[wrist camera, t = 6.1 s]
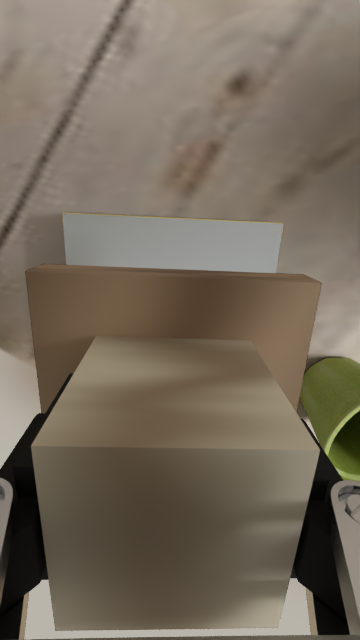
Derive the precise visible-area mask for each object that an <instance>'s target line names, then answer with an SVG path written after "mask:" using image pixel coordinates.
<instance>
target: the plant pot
mask: <svg viewBox="0 0 360 640" xmlns="http://www.w3.org/2000/svg"><path fill="white" fill-rule="evenodd" d="M300 399H301V402H302V404H303V406H304V409H305V411H306V413H307V415H308V417H309V420H310V422H311V424H312V427H313V429H314V431H315V434H316V436H317V439H318V441H319V443H320V445H321V447H322V448H323V450H324V451H325V453H326V454H327V456H328V458H329V459H330V461H331V462H332V464H333V465H334V467H335V468H336V470H337V471H338V473H339V474H340V476H341V478H342V479H343V481H345V480H351V481H358V482H360V364H359V363H357V362H355V361H354V360H351V359H349V358H345V357H344V358H326V359H323V360H321V361H319V362H317V363H315V364H314V365H313V366H311V367H310V368H309V369H308V370H307V372H306V373H305V374H304V376H303V382H302V387H301V392H300Z"/></svg>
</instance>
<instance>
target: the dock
mask: <svg viewBox="0 0 360 640" xmlns="http://www.w3.org/2000/svg"><path fill="white" fill-rule="evenodd" d="M62 223H63V229H64V243H65V257H66V265H85V266H109V267H134V268H159V269H183V270H208V271H233V272H258V273H276V270H277V263H278V256H279V250H280V243H281V236H282V232H283V226H284V223H279V222H258V221H237V220H217V219H196V218H175V217H154V216H134V215H113V214H92V213H72V212H62Z"/></svg>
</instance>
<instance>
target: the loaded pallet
mask: <svg viewBox="0 0 360 640" xmlns="http://www.w3.org/2000/svg"><path fill="white" fill-rule="evenodd" d="M25 273H26V282H27V291H28V299H29V308H30V317H31V326H32V334H33V343H34V352H35V361H36V369H37V378H38V387H39V396H40V404H41V413H46V411H47V410H48V408H49V406H50V405H51V403H52V402H53V400H54V398H55V397H56V395H57V393H58V392H59V390H60V389H61V387H62V385H63V384H64V382H65V380H66V379H67V377H68V376H69V374H70V373H74V374H73V376H72V377H71V379H70V381H69V383H68V384H67V386H66V388H65V389H64V391H63V393H62V394H61V396H60V398H59V399H58V401H57V403H56V405H55V406H54V408H53V410H52V411H51V413H50V415H49V416H48V418H47V420H46V421H45V423H44V425H43V426H42V428H41V430H40V432H39V433H38V435H37V437H36V438H35V440H34V442H33V443H32V445H31V450H32V458H33V466H34V473H35V481H36V488H37V496H38V503H39V511H40V518H41V526H42V534H43V541H44V549H45V556H46V564H47V571H48V579H49V586H50V594H51V601H52V609H53V617H54V624H55V631H66V630H67V631H69V630H71V631H72V630H148V629H222V628H223V629H224V628H225V629H226V628H278V627H279V622H280V619H281V614H282V610H283V606H284V602H285V597H286V593H287V589H288V585H289V580H290V576H291V572H292V568H293V563H294V559H295V555H296V551H297V546H298V542H299V538H300V534H301V529H302V525H303V521H304V517H305V512H306V508H307V504H308V500H309V495H310V491H311V487H312V483H313V478H314V474H315V470H316V466H317V461H318V457H319V453H320V449H319V447H318V446H317V444H316V443H315V441H314V440H313V438H312V436H311V435H310V433H309V432H308V430H307V429H306V427H305V425H304V424H303V422H302V421H301V419H300V418H299V416H298V414H297V413H296V412H297V407H298V402H299V397H300V392H301V387H302V382H303V376H304V371H305V366H306V361H307V356H308V351H309V346H310V341H311V336H312V330H313V325H314V320H315V315H316V310H317V305H318V300H319V295H320V290H321V285H322V283H321V282H319V281H317V280H315V279H313V278H310V277H308V276H306V275H304V274H282V273H258V272H233V271H208V270H183V269H159V268H134V267H109V266H85V265H60V264H42V265H39V266H37V267H34V268H32V269H29V270H27V271H25Z"/></svg>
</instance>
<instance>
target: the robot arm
mask: <svg viewBox="0 0 360 640" xmlns="http://www.w3.org/2000/svg"><path fill="white" fill-rule="evenodd" d="M73 374H74V373H70V374H69V376H68V377H67V379H66V380H65V382H64V384H63V385H62V387H61V389H60V390H59V392H58V393H57V395H56V397H55V398H54V400H53V402H52V403H51V405H50V406H49V408H48V410H47V411H46V413H39V414H37V415H36V416H35V418H34V419H33V420H32V422H31V424H30V425H29V427H28V428H27V430H26V431H25V433H24V435H23V436H22V437H21V439H20V440H19V442H18V443H17V445H16V446H15V448H14V449H13V451H12V452H11V454H10V455H9V457H8V459H7V460H6V462H5V463H4V465H3V466H2V468H1V469H0V640H24V635H25V626H26V617H27V607H28V598H29V591H30V590H32V589H33V588H34V587H35V586H36V585H38V584H39V583H40V581H41V580H47V579H48V571H47V564H46V556H45V549H44V541H43V534H42V526H41V518H40V511H39V503H38V496H37V488H36V481H35V473H34V466H33V458H32V450H31V445H32V443H33V442H34V440H35V438H36V437H37V435H38V433H39V432H40V430H41V428H42V426H43V425H44V423H45V421H46V420H47V418H48V416H49V415H50V413H51V411H52V410H53V408H54V406H55V405H56V403H57V401H58V399H59V398H60V396H61V394H62V393H63V391H64V389H65V388H66V386H67V384H68V383H69V381H70V379H71V377H72V376H73ZM300 419H301V418H300ZM301 421H302V422H303V424H304V425H305V427H306V429H307V430H308V432H309V433H310V435H311V436H312V438H313V440H314V441H315V443H316V444H317V446H318V447H319V449H320V453H319V457H318V461H317V466H316V470H315V474H314V478H313V483H312V487H311V491H310V495H309V500H308V504H307V508H306V512H305V517H304V521H303V525H302V529H301V534H300V538H299V542H298V546H297V551H296V555H295V559H294V563H293V568H292V572H291V576H290V578H297V580H298V582H300V583H301V584H302V585H303V586H305V587H306V595H307V604H308V613H309V622H310V631H311V635H295V636H294V635H292V636H291V635H289V636H213V637H212V636H209V637H208V636H207V637H138V638H85V639H83V638H81V639H34V640H360V482H358V481H351V480H345V481H343V479H342V478H341V476H340V474H339V473H338V471H337V470H336V468H335V467H334V465H333V464H332V462H331V461H330V459H329V458H328V456H327V454H326V453H325V451H324V450H323V448H322V447H321V445H320V444H319V442H318V441H317V439H316V438H315V436H314V435H313V433H312V431H311V430H310V428H309V427H308V425H307V424H306V422H305V421H304V420H303V419H301ZM48 580H49V579H48Z"/></svg>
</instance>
